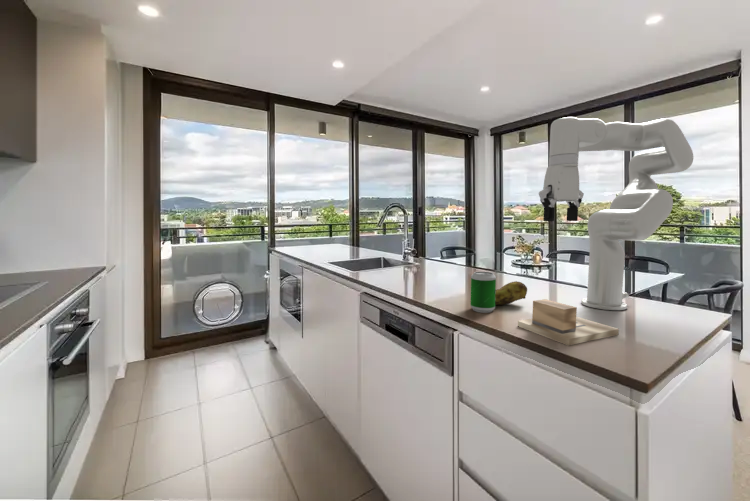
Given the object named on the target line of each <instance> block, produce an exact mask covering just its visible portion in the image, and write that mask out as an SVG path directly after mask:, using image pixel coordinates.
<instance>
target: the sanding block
mask: <svg viewBox="0 0 750 501" xmlns="http://www.w3.org/2000/svg"><path fill="white" fill-rule="evenodd" d="M577 309H578V308H577V306H572V305H570V304H569V305H568V304H566V303H563V302H562V303H561V302H558V301H554V300H550V299H537V300H532V313H531V315H532V318H531V319H532V323H534V324H536V325H539V326H542V327H545V328H548V329H550V330H553V331H556V332H559V333H562V334H564V333H569V332H574V331H576V317H577V313H578V312H577V311H578V310H577Z"/></svg>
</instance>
